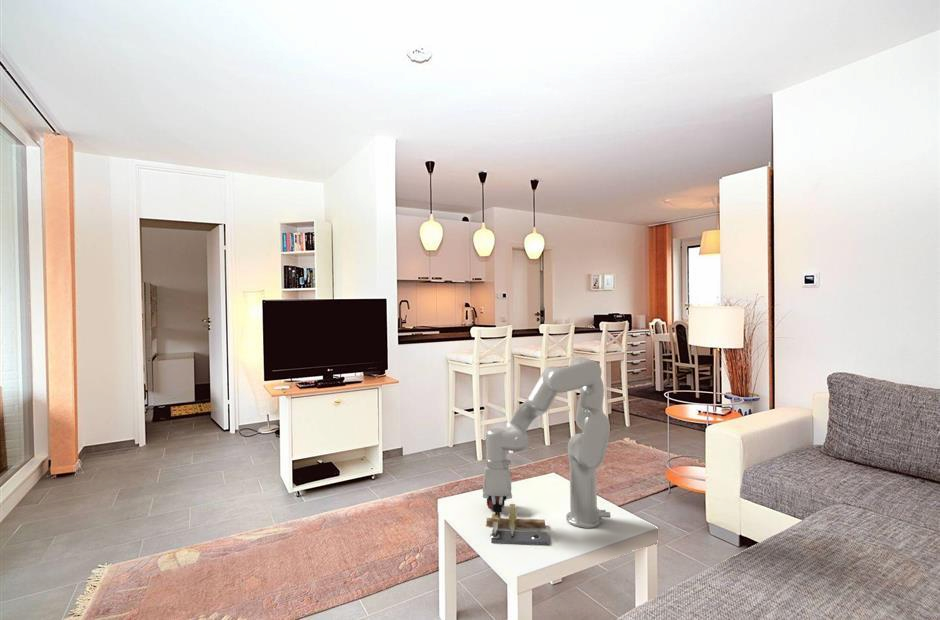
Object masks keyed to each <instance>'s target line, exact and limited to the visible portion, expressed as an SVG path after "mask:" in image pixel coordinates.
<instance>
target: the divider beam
mask: <svg viewBox="0 0 940 620" xmlns="http://www.w3.org/2000/svg"><path fill="white" fill-rule="evenodd" d="M501 516H502V515H501V513H500V516H498V514H497V516H495V512H493V513H492V515H491V517H486V524H485V525H486V527H491V528H492V530H493V535H495V536H496V533H497V530H499V529H498V528H501V527H502V528H509V524H508V518H509V517H508V518H507V517H506V518H503V517H501ZM545 521H546V519H540V518H539V519H537V518H535V519H534V518H530V519H529V518H517V528H522V529H523V528H524V529H526V528H527V529H529V528H531V529H546V522H545Z"/></svg>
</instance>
